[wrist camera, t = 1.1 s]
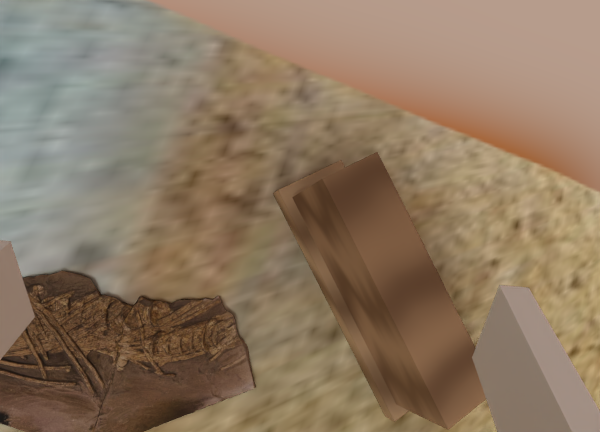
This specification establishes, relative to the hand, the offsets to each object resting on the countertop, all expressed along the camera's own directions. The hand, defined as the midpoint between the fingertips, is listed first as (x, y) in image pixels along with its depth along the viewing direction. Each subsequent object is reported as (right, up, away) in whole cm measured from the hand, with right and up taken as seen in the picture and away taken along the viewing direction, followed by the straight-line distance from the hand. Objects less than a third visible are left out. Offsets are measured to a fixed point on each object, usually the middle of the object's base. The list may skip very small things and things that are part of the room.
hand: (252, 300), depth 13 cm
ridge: (+6, -3, +25) cm, 26 cm away
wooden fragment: (-14, -7, +18) cm, 24 cm away
